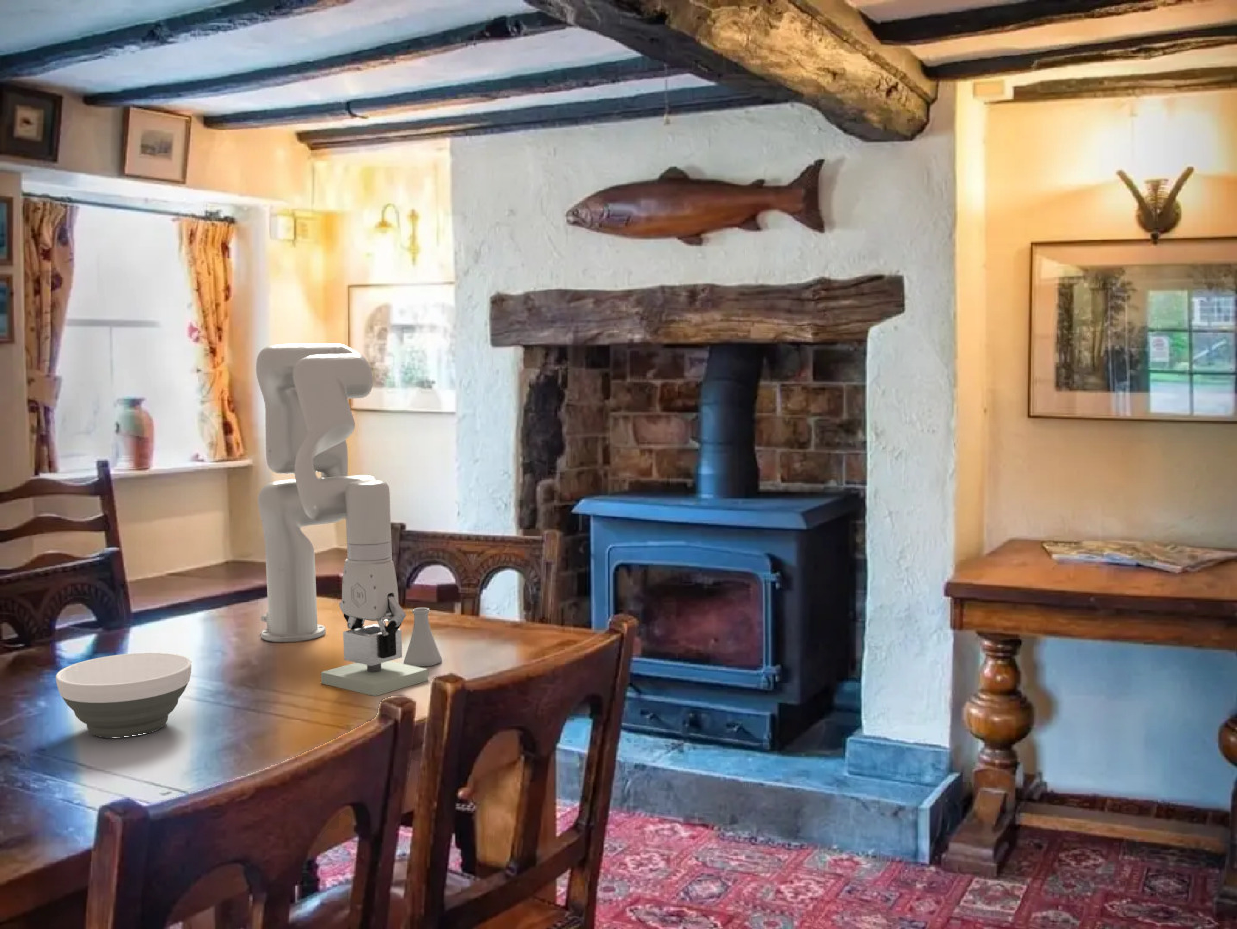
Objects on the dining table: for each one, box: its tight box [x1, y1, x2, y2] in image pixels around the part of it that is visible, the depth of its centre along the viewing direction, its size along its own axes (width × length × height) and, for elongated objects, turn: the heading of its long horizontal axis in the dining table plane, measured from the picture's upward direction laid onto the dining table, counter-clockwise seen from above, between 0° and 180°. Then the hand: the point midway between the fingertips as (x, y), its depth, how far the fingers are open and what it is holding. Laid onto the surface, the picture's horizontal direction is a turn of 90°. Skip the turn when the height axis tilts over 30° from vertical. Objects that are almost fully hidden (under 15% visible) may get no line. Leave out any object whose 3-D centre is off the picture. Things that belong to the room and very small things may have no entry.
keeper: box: [320, 660, 429, 697], centre depth 222 cm, size 14×12×8 cm
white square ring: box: [342, 623, 403, 666], centre depth 222 cm, size 7×7×5 cm
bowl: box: [55, 652, 192, 738], centre depth 198 cm, size 20×20×10 cm
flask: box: [403, 607, 443, 667], centre depth 234 cm, size 7×7×10 cm
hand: (373, 652), depth 222 cm, fingers closed on white square ring, 7 cm apart
